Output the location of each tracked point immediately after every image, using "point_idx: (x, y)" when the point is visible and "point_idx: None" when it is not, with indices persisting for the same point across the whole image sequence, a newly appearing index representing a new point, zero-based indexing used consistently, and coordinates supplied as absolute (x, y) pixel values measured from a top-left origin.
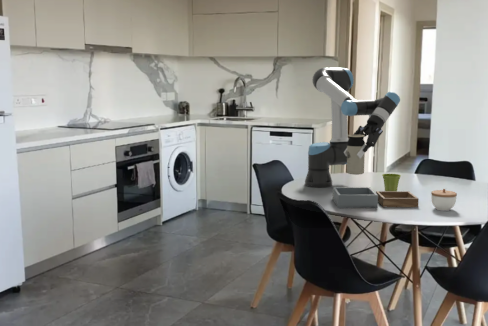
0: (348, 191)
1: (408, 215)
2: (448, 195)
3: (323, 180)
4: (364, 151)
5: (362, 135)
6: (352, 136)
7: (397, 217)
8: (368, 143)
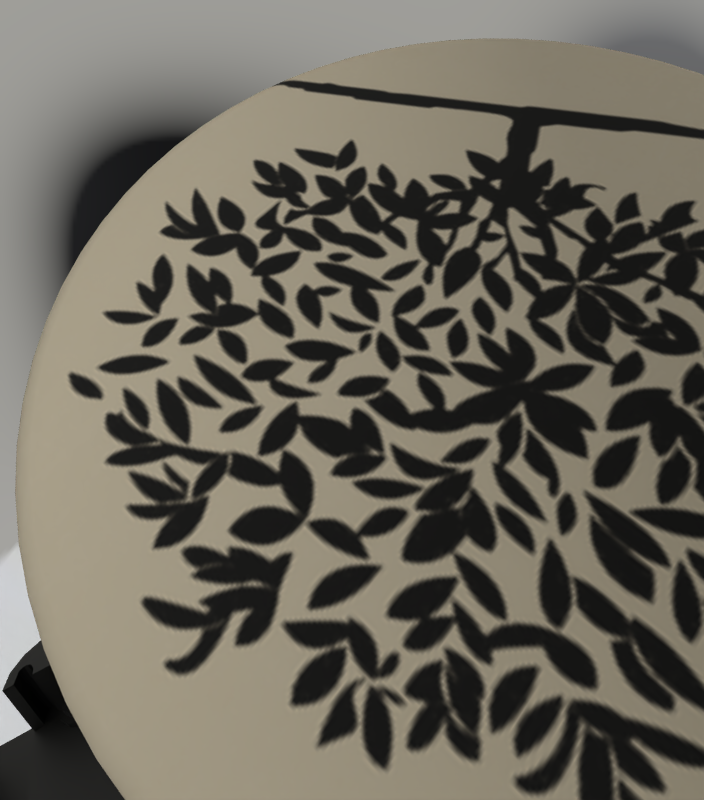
0: None
1: (3, 719)
2: None
3: None
4: None
5: (149, 610)
6: (272, 105)
7: (12, 616)
8: (43, 734)
